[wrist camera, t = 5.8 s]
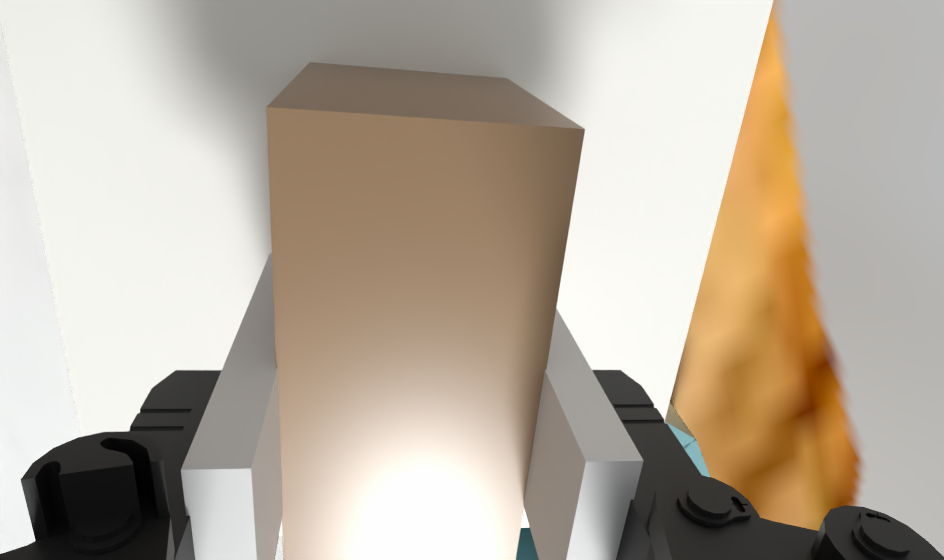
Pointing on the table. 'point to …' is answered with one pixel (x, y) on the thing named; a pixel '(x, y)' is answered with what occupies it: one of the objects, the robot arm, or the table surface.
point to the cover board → (207, 170)
